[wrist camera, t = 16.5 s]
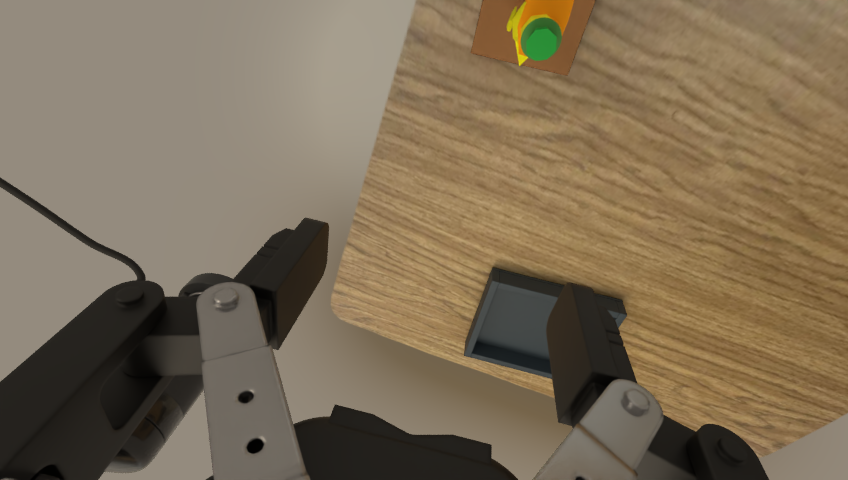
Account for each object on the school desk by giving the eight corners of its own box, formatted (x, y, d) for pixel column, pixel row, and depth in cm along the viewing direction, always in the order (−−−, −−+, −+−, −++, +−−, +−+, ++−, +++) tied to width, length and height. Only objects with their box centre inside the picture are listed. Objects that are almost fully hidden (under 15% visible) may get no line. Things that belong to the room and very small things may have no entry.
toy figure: (530, -52, 28) (544, -67, 18) (579, -37, 28) (619, -44, 18) (497, 49, 32) (493, 83, 22) (539, 63, 32) (555, 102, 22)
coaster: (471, 52, 33) (470, 53, 32) (499, -69, 28) (499, -70, 28) (566, 74, 32) (567, 75, 32) (610, -45, 28) (612, -45, 27)
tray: (465, 341, 51) (463, 355, 49) (492, 267, 44) (491, 280, 42) (576, 370, 51) (579, 386, 49) (622, 299, 44) (627, 315, 42)
